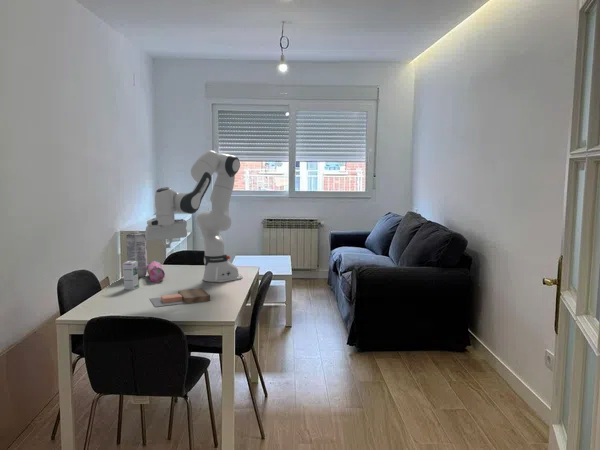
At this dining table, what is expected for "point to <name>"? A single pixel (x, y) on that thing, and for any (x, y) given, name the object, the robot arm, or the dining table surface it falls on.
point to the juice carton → (137, 251)
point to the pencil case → (155, 271)
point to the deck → (194, 295)
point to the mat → (158, 303)
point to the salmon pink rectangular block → (171, 298)
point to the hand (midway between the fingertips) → (167, 247)
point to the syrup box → (131, 275)
